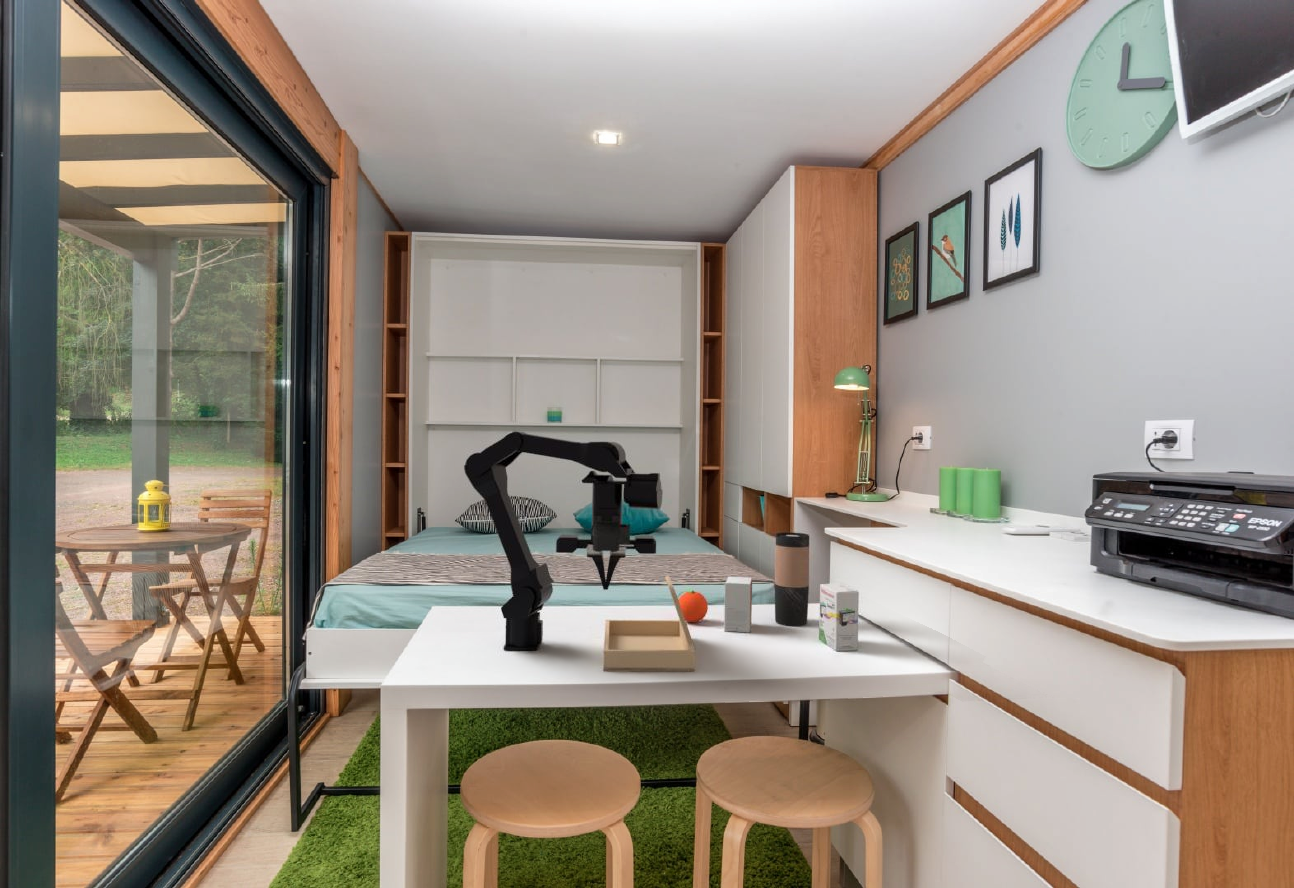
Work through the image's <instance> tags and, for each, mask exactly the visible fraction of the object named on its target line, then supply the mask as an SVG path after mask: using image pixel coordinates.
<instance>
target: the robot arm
mask: <svg viewBox="0 0 1294 888" xmlns="http://www.w3.org/2000/svg"><path fill="white" fill-rule="evenodd" d="M522 453H523V454H524V453H526V454H532V455H536V456H537V455H538V456H544V457H550V458H556V459H562V460H568V461H572V462H575V463H578V464H580V465H582V466H584V467H586V468H589V469H592V470H590V471H589V472H588V474H587V475H586V476H585V477H584V478H583V479H581V483H583V484H592V499H591V500H592V501H591V504H592V505H591V506H592V507H591V529H590V538H579V534H566V533H565V534H560V535H559V536H557V537H558V538H557V539H556V543H555V552H556V553H559V554H560V553H561V554H565V553H566V554H573V553H574V552H575V551H576V550H577V549H586V551H587V553H586V558H591V559H592V560H593V562H594V565H595V567H596V569H597V571H598V572H597V573H598V575H599V579H600V582H601V585H602V589H603V590H604V591H605V590H606V591H607V590H609V588H610V587H609V586H610V584H611V581H612V577H613V575H614V572H615V569H616V567H617V565H618V563H619V561H620V559H625V558H627V555H626V552H627V550H635V551H636V552H637V553H638V554H641V555H643V554H644V555H649V554H650V555H652V554H653V555H654V554H657V540H656V538H655V537H654V536H653V535H646V534H645V535H642V534H641V535H634V539H631V525H630V524H627V523H625V524H624V523H623V501H624V503H625V504H628V507H629V509H643V510H644V509H645V510H646V509H647V510H660V509H661V507H662V503H663V488H662V481H661V474H660V472H650V473H636V472H635V470H634V469H633V468H632V466H631V465H630V463H629V462H628V461H627V459H626V457H627V456H626V452H625V449H624V448H623V446H622V445H621V444H620V443H617V442H615V441H583V442H581V441H579V442H578V441H573V440H566V439H561V438H556V437H555V438H554V437H550V436H549V437H548V436H542V435H536V434H530V433H526V432H524V431H514V430H513V431H510V432H508V433H507V434H506V435H505V436H504V437H502V438H501V439H499V440H498V441H496V442H495V443H493V444H491V445H489V446H488V447H485V448H484V449H483V450H482V451H481V452H474V453H472V454H471V455H469V456H468V458H467V459H466V460H465V464H464V465H463V469H464V474H465V476H466V477H467V479H468V481H469V482H470V484H471V486H472V487H473V489H474V490H475V491H476V492H477V493H478V495H479V496H480V497H481V498H483V501H485V504H486V507H487V510H488V511H489V512H488V513H489V515H490V518H491V521H492V522H493V525H494V527H495V530H496V533H497V535H498V538H499V541H500V544H501V545H502V548H503V549H502V550H503V551H504V554H505V556H506V559H507V561H508V564H509V568H510V588H511V592H512V596H511V597H510V598H509V599H508V600H507V601H506V603H504V604H503V605H502V606H501V607H500V610H501V612H502V613H501V615H502V617H503V619H505V643H504V645H503V650H505V651H506V650H507V651H508V650H509V651H511V650H512V651H514V650H515V651H517V650H518V651H537V650H538V649H539V647H540V645H541V644H542V643H543V640H544V639H543V635H544V633H543V632H544V631H543V630H544V628H543V626H544V620H543V619H541V612H540V611H541V610H543V608H544V605H545V603H546V602H548V601H549V600H550V598H551V596H552V594H553V592H554V591H553V590H554V588H553V583H555V581H554V579H553V578H552V577H551V575H550V572H549V571H550V570H549V567H548V565H547V563H545V562H544V563H543V564H539V563H538V562H537V561H536V560H535V559H534V557H533V555H532V553H531V550H530V547H529V545H528V541H527V540H526V537H525V534H524V532H523V529H522V526H521V524H520V521H519V519H518V516H517V514H516V511H515V509H514V506H513V503H512V501H511V498H510V494H509V492H508V480H509V479H508V474H507V467H509V466H510V465H511V464H513V462H515V461H516V460H517V459H518V458H519V456H521V454H522ZM596 471H597V472H600V473H609V474H598V473H597V472H596ZM614 478H615V479H625V480H615V479H614ZM604 551H605V552H609V557H608V563H607V570H606V569H605V559H604ZM605 570H606V571H605Z"/></svg>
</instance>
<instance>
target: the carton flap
mask: <svg viewBox="0 0 1294 888" xmlns="http://www.w3.org/2000/svg"><path fill="white" fill-rule="evenodd" d="M664 578H665V581H666V584H667V587H668V590H669V593H670V595H671V598H672V602H673V604H674V608H675V610H676V613H677V616H678V618H679V620H680V622H681V625H682V627H683V630H684V633H685V635H686V638H687V641H688V644H689V645H691V644H692V645H693V644H694V641H693V639H692V635H691V632H690V630H689V628H688V624H687V621H685V618H684V615H683V612H682V609H681V606H680V603H679V596H678V595H677V593H676V590H675V588H674V586H673V583H672V579H671V578H670V576H669V575H666V576H664Z"/></svg>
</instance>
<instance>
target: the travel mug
mask: <svg viewBox="0 0 1294 888" xmlns="http://www.w3.org/2000/svg"><path fill="white" fill-rule="evenodd" d="M774 553H775V555H774V556H775V558H774V620H775V621H774V622H775V623H777V624H779V625H782V626H787V627H802V626H806V625H807V624H808V610H809V593H810V590H809V589H810V535H809V533H802V532H789V531H787V532H777V533H775V552H774Z"/></svg>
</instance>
